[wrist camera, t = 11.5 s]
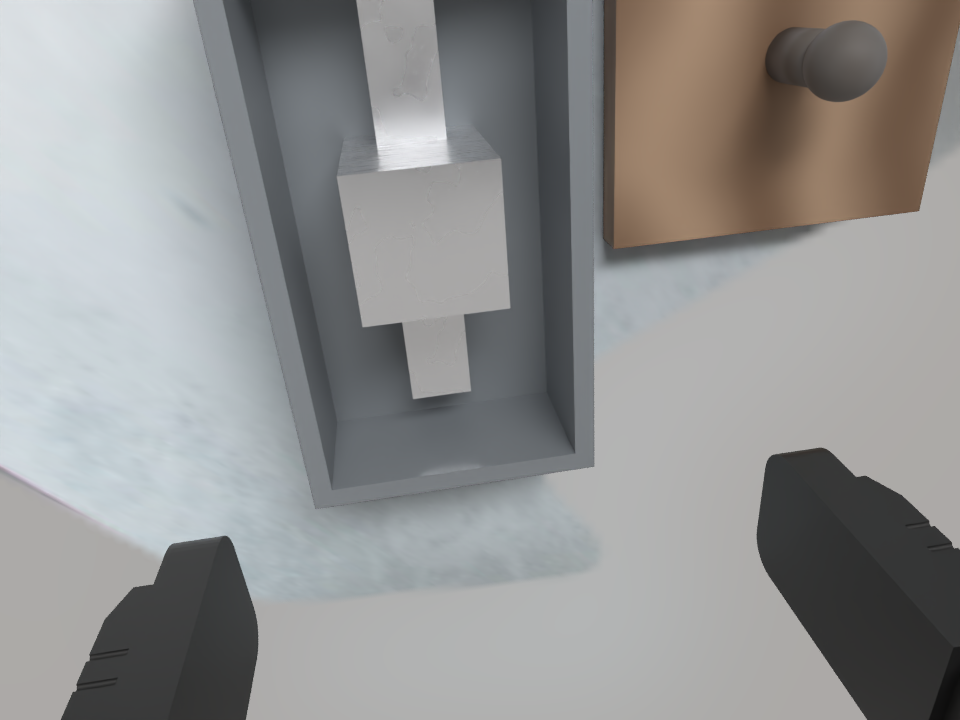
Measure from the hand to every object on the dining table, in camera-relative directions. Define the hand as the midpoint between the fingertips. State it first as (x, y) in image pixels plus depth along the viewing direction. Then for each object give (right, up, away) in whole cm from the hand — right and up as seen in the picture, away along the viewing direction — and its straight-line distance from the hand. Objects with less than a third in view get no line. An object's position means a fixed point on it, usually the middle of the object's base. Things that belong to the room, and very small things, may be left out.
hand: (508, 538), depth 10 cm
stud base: (+11, +15, +18) cm, 26 cm away
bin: (-3, +10, +19) cm, 21 cm away
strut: (-3, +9, +18) cm, 20 cm away
